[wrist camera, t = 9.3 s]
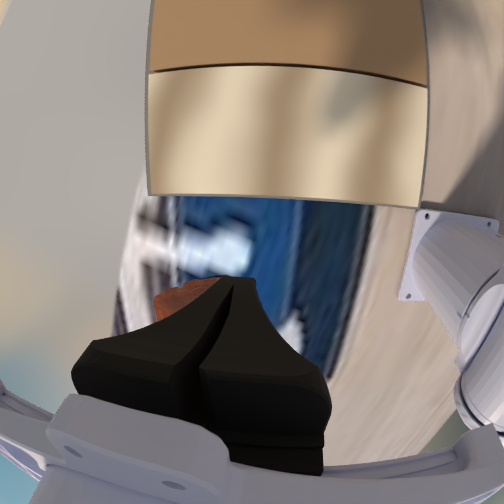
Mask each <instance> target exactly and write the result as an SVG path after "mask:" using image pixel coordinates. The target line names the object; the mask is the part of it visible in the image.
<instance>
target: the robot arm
mask: <svg viewBox="0 0 504 504" xmlns="http://www.w3.org/2000/svg"><path fill="white" fill-rule="evenodd" d="M426 213H428V217H427V218H425V214H426ZM488 222H489V224H488ZM487 224H488V225H487ZM498 230H499V221H498V220H496V219H492V218H486V217H480V216H474V215H467V214H461V213H454V212H447V211H439V210H432V209H424V208H420V210H417V211H416V213H415V217H414V223H413V228H412V234H411V239H410V244H409V249H408V253H407V258H406V262H405V266H404V270H403V275H402V279H401V282H400V286H399V290H398V294H397V297H398V299H399V300H400V301H427V302H428V304H429V305H430V307H431V308H432V310H433V311H434V313H435V314H436V315H437V317H438V318H439V320H440V321H441V323H442V324H443V326H444V328H445V329H446V331H447V332H448V334H449V335H450V337H451V338H452V340H453V342H454V343H455V345H456V346H457V348H458V355H457V357H456V359H455V363H456V365H457V367H458V369H459V370H460V372H461V374H460V376H459V377H458V379H457V381H456V383H455V386H454V400H455V404H456V407H457V410H458V412H459V414H460V416H461V418H462V419H463V421H464V423H465V424H466V425H467V426H468V427H469V428H470V429H471V430H470V431H468V432H466V433H464V434H463V435H462V436H461V437H460V438H459V439H458V440H457V441H456V443H455V444H454V446H450V447H447V448H443V449H439V450H435V451H431V452H427V453H423V454H418V455H413V456H408V457H403V458H398V459H392V460H385V461H378V462H371V463H362V464H353V465H340V466H323V450H322V448H323V447H324V431H325V429H326V426H327V423H328V421H329V418H330V416H331V411H332V403H331V397H330V394H329V390H328V387H327V384H326V382H325V379H324V377H323V374H322V372H321V370H320V368H319V367H317V366H316V365H314V364H313V363H311V362H310V361H308V360H307V359H305V358H304V357H302V356H301V355H300V354H299V353H297V352H296V351H295V350H294V349H293V348H292V347H291V346H290V345H289V344H288V343H287V342H286V341H285V340H284V339H283V338H282V337H281V335H280V334H279V333H278V332H277V330H276V329H275V327H274V326H273V325H272V323H271V322H270V320H269V318H268V317H267V315H266V313H265V311H264V309H263V307H262V304H261V302H260V300H259V297H258V294H257V290H256V280H255V279H254V278H247V277H231V276H223V277H221V278H220V279H219V280H218V281H217V282H215V283H214V284H213V285H212V286H211V287H210V288H209V289H207V290H206V291H205V292H204V293H203V294H201V295H200V296H199V297H198V298H196V299H195V300H193V301H192V302H191V303H189V304H188V305H186V306H185V307H184V308H182V309H180V310H179V311H177V312H175V313H174V314H172V315H170V316H168V317H166V318H164V319H162V320H160V321H158V322H156V323H153V324H151V325H149V326H146V327H144V328H141V329H138V330H135V331H132V332H129V333H126V334H122V335H118V336H114V337H109V338H104V339H100V340H93V341H92V342H91V343H90V345H89V346H88V347H87V348H86V350H85V351H84V352H83V354H82V355H81V357H80V358H79V359H78V361H77V362H76V363H75V365H74V366H73V368H72V371H71V377H72V381H73V383H74V386H75V388H76V390H77V392H78V393H79V394H69V395H68V396H67V398H66V399H65V400H64V401H63V403H62V404H61V406H60V407H59V409H58V411H57V412H56V414H55V415H54V414H52V413H50V412H48V411H46V410H43V409H41V408H39V407H37V406H35V405H33V404H31V403H29V402H28V401H26V400H24V399H22V398H20V397H18V396H17V395H15V394H13V393H11V392H10V391H8V390H6V388H5V386H4V384H3V383H2V381H1V380H0V454H2V455H3V456H4V457H6V458H7V459H8V460H10V461H11V462H12V463H14V464H15V465H16V466H18V467H19V468H21V469H22V470H23V471H25V472H26V473H27V474H29V475H30V476H32V477H33V478H35V479H36V480H38V481H39V484H38V486H37V488H36V490H35V492H34V494H33V496H32V498H31V500H30V502H29V504H480V503H481V502H483V501H484V500H486V499H487V498H489V497H490V496H491V495H493V494H494V493H496V492H497V491H498V490H500V489H501V488H502V487H503V486H504V236H503V235H501V234H500V233H498ZM407 294H410V295H409V296H407ZM406 296H407V297H406Z"/></svg>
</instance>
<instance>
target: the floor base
mask: <svg viewBox="0 0 504 504" xmlns="http://www.w3.org/2000/svg"><path fill="white" fill-rule="evenodd" d="M229 66H282V67H301V68H314V69H324V70H333V71H341V72H349V73H356V74H362V75H368V76H374V77H379V78H384V79H389V80H394V81H398V82H403V83H407V84H411V85H415V86H419V87H423V88H426V89H427V127H426V142H425V154H424V164H423V173H422V181H421V189H420V196H419V202H418V207H410V206H401V205H392V204H383V203H372V202H361V201H350V200H337V199H323V198H308V197H291V196H270V195H243V194H152V193H151V179H150V161H149V134H148V79H149V74H155V73H162V72H170V71H178V70H187V69H197V68H210V67H229ZM428 126H429V65H428V49H427V37H426V27H425V19H424V12H423V5H422V0H151V6H150V16H149V26H148V38H147V53H146V72H145V152H146V173H147V189H148V196H226V197H258V198H281V199H300V200H317V201H331V202H344V203H356V204H368V205H379V206H389V207H398V208H407V209H416V210H420V204H421V198H422V191H423V183H424V175H425V166H426V155H427V143H428Z"/></svg>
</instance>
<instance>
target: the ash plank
mask: <svg viewBox="0 0 504 504" xmlns="http://www.w3.org/2000/svg"><path fill="white" fill-rule="evenodd" d="M426 127H427V89H426V88H423V87H419V86H415V85H411V84H407V83H403V82H398V81H394V80H389V79H384V78H379V77H374V76H368V75H362V74H356V73H349V72H341V71H333V70H324V69H314V68H301V67H282V66H229V67H210V68H197V69H187V70H178V71H170V72H162V73H155V74H149V79H148V134H149V161H150V179H151V193H152V194H243V195H270V196H291V197H308V198H323V199H337V200H350V201H361V202H372V203H383V204H392V205H401V206H410V207H418V202H419V196H420V189H421V181H422V173H423V164H424V154H425V142H426Z"/></svg>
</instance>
